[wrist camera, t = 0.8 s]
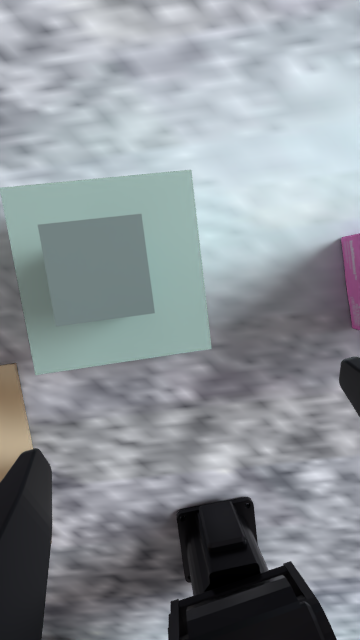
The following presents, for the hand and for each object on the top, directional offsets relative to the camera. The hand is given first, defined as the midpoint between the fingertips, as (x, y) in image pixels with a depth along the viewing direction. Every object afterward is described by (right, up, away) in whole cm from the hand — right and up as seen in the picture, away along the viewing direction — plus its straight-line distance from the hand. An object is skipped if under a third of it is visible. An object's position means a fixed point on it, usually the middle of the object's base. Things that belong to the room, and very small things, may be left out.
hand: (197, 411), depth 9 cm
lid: (-5, +6, +12) cm, 14 cm away
